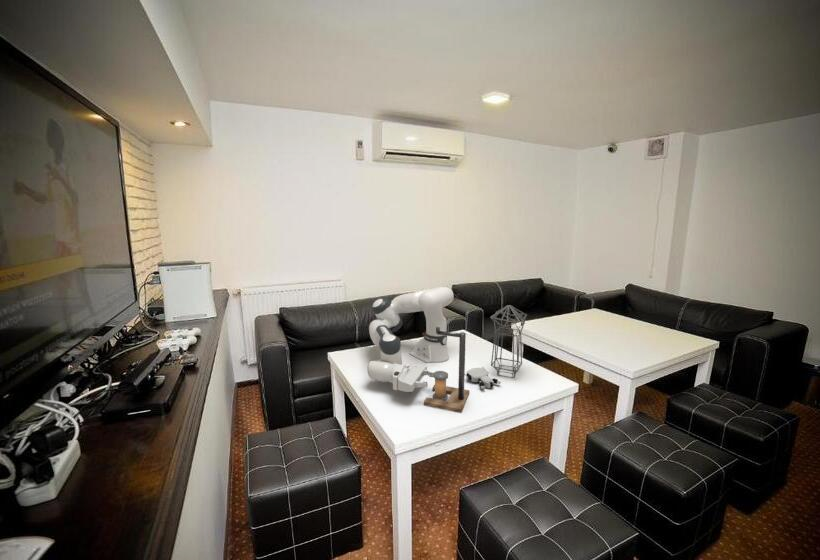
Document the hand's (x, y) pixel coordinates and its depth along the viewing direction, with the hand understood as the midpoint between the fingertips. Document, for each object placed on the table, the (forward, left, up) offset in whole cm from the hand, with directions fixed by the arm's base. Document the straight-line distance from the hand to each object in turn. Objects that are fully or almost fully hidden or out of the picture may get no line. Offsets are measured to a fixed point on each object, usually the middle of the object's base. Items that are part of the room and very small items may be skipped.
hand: (430, 379), depth 144 cm
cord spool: (+4, +2, -8) cm, 9 cm away
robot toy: (+11, +26, -8) cm, 29 cm away
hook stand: (+8, +3, -6) cm, 11 cm away
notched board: (+7, +3, -8) cm, 11 cm away
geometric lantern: (+15, +43, -8) cm, 46 cm away
